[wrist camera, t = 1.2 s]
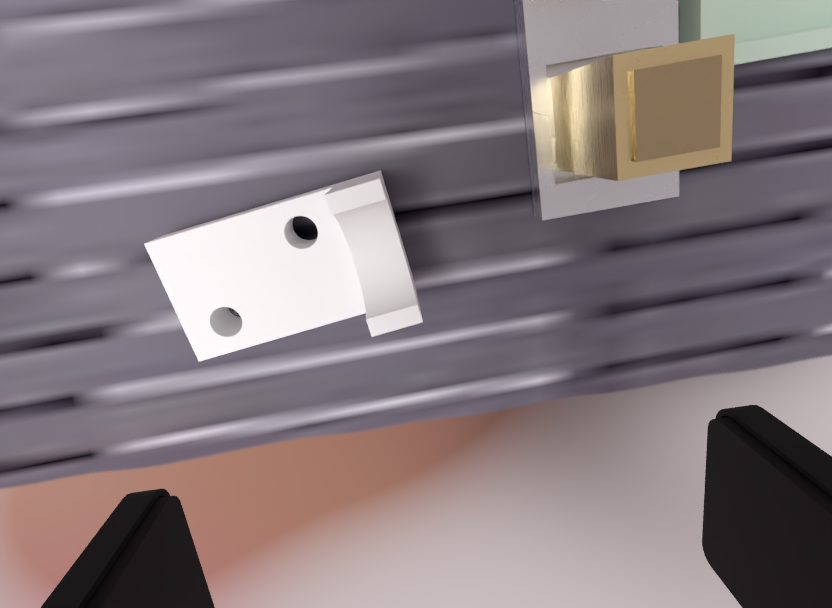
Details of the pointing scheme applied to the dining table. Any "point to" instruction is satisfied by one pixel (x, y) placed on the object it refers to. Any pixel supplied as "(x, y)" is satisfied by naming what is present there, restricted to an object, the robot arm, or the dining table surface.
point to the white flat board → (570, 49)
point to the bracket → (289, 269)
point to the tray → (759, 26)
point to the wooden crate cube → (646, 111)
